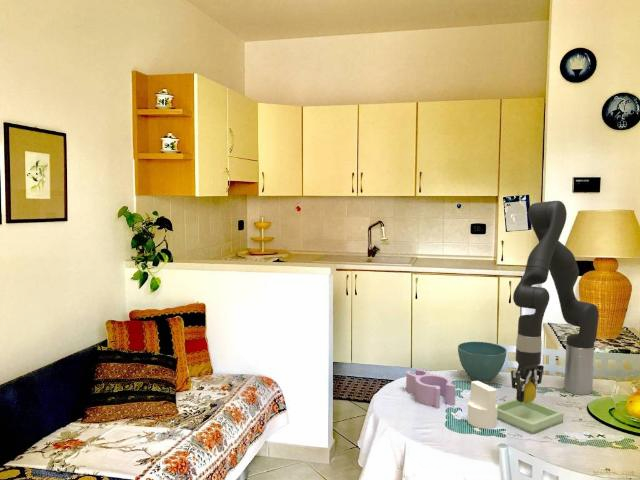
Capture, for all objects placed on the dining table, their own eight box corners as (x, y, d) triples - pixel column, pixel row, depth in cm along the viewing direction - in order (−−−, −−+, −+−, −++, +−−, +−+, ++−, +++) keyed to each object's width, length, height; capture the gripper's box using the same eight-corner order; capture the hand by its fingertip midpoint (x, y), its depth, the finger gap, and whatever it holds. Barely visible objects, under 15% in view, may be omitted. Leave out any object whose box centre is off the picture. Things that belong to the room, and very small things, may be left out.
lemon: (514, 400, 177) (515, 376, 176) (530, 400, 178) (531, 376, 177) (521, 407, 172) (522, 383, 171) (538, 407, 172) (539, 382, 171)
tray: (519, 405, 186) (520, 396, 186) (563, 422, 173) (563, 413, 173) (489, 415, 177) (489, 406, 177) (532, 434, 164) (532, 424, 164)
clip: (397, 390, 199) (398, 372, 199) (425, 385, 205) (425, 367, 204) (431, 410, 182) (432, 390, 181) (460, 404, 187) (461, 384, 186)
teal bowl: (495, 390, 200) (497, 358, 198) (449, 379, 211) (450, 348, 209) (511, 377, 214) (513, 347, 213) (467, 367, 225) (468, 338, 224)
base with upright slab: (461, 419, 175) (462, 382, 173) (483, 414, 178) (485, 379, 177) (480, 430, 166) (481, 392, 165) (503, 425, 170) (504, 388, 169)
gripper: (532, 342, 180) (529, 391, 182) (504, 348, 172) (501, 400, 174) (552, 347, 174) (549, 398, 175) (524, 354, 166) (522, 408, 167)
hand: (526, 399), depth 175 cm, fingers closed on lemon, 5 cm apart
